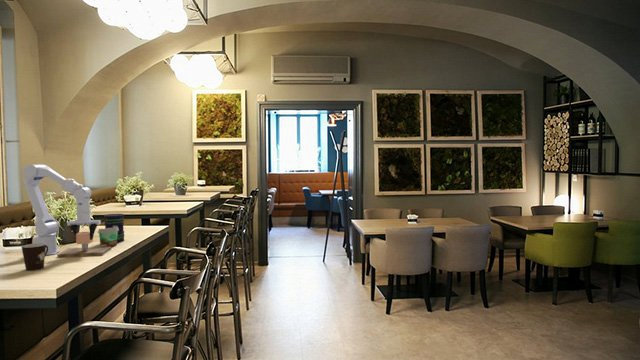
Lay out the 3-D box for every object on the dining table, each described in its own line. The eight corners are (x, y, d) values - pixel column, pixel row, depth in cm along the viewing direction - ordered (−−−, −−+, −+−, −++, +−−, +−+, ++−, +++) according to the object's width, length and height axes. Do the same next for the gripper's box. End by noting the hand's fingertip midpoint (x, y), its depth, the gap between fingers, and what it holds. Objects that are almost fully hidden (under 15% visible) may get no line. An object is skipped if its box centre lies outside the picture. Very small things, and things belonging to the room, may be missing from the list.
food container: (109, 248, 229) (108, 229, 228) (98, 248, 230) (97, 229, 230) (124, 244, 241) (123, 225, 240) (114, 243, 242) (113, 225, 242)
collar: (76, 244, 215) (76, 233, 214) (80, 242, 220) (80, 231, 220) (89, 243, 216) (88, 233, 215) (92, 241, 221) (92, 231, 221)
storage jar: (128, 240, 253) (127, 213, 252) (116, 243, 243) (115, 216, 242) (113, 239, 255) (112, 213, 254) (101, 242, 245) (99, 215, 245)
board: (57, 257, 210) (57, 254, 210) (68, 251, 224) (68, 248, 223) (102, 255, 213) (102, 252, 213) (111, 249, 227) (110, 246, 227)
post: (82, 250, 217) (81, 241, 217) (83, 250, 219) (83, 240, 219) (86, 250, 218) (86, 241, 217) (88, 249, 220) (87, 240, 219)
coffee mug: (29, 272, 183) (27, 248, 182) (18, 269, 187) (17, 246, 187) (58, 266, 193) (57, 243, 192) (47, 263, 197) (46, 241, 197)
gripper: (64, 213, 212) (65, 241, 213) (97, 212, 215) (98, 240, 215) (69, 211, 219) (70, 239, 220) (101, 210, 222) (102, 237, 222)
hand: (84, 239), depth 218 cm, fingers closed on collar, 6 cm apart
